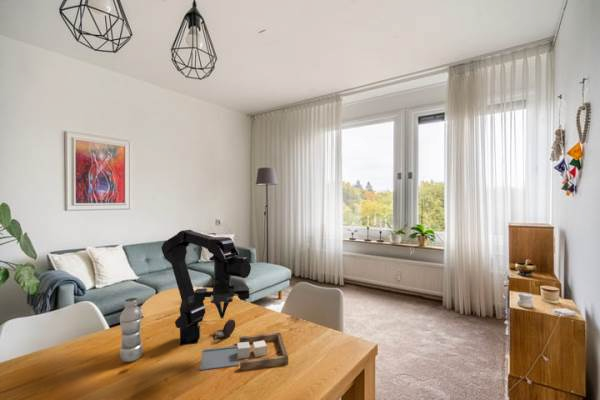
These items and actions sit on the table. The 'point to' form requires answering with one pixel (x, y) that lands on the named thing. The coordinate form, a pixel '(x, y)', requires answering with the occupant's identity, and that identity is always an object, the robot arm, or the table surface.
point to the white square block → (259, 348)
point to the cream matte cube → (243, 350)
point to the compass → (225, 330)
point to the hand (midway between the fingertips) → (222, 318)
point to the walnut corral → (264, 361)
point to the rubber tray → (219, 358)
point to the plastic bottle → (131, 331)
